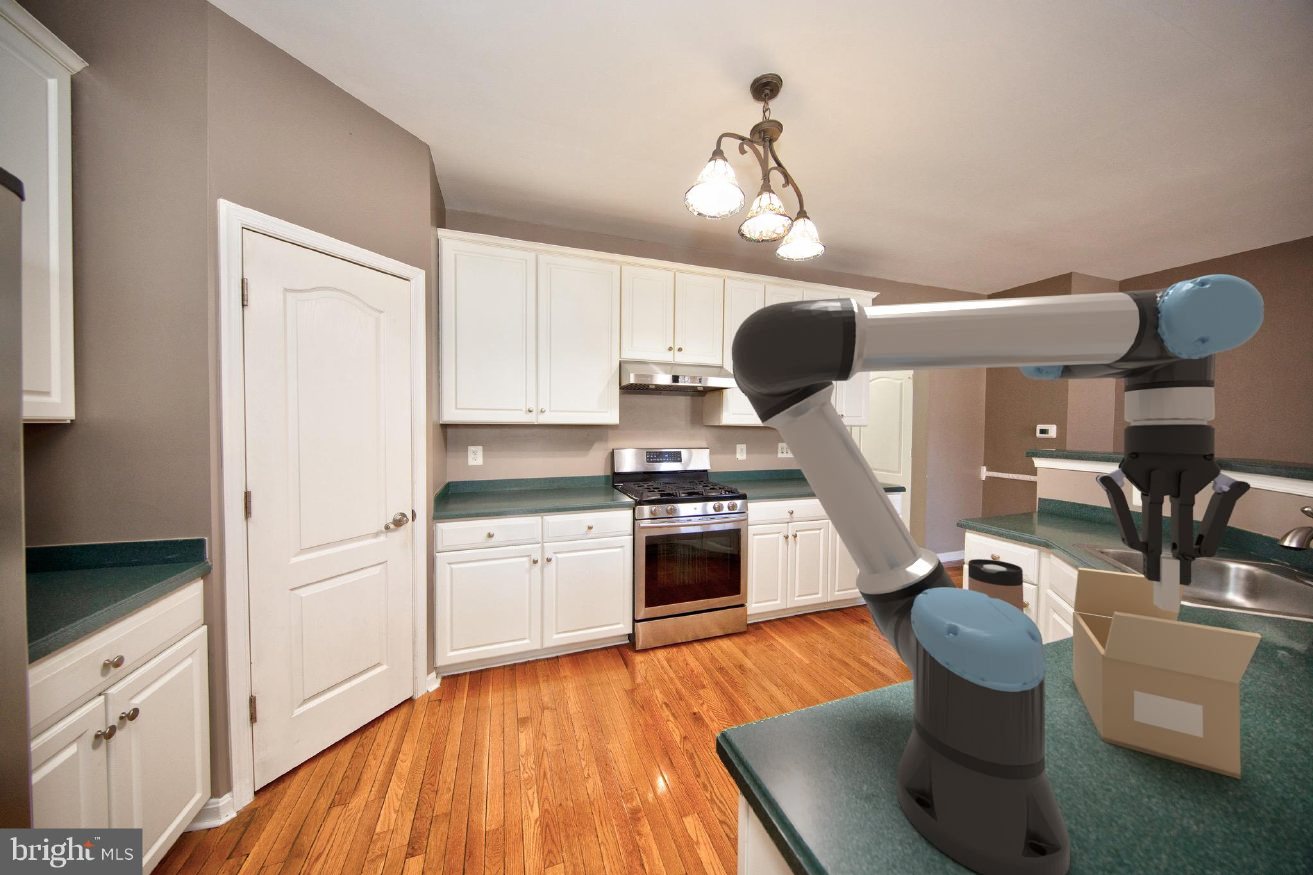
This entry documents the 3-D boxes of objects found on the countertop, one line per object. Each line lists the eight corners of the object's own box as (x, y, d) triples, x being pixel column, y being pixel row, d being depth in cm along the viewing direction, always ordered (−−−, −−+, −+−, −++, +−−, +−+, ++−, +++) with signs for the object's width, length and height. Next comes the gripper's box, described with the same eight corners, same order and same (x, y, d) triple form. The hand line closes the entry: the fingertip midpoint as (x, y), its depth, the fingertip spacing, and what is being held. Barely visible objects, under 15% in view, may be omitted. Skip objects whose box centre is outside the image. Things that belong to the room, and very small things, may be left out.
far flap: (1074, 611, 75) (1073, 609, 75) (1175, 627, 68) (1174, 625, 69) (1079, 569, 72) (1078, 567, 72) (1185, 582, 65) (1183, 579, 65)
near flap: (1236, 679, 53) (1238, 683, 53) (1103, 653, 60) (1104, 657, 60) (1259, 633, 49) (1261, 637, 49) (1114, 611, 56) (1115, 614, 56)
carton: (1241, 779, 53) (1239, 681, 53) (1103, 741, 60) (1102, 654, 60) (1178, 705, 68) (1177, 628, 68) (1073, 681, 75) (1072, 611, 75)
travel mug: (1004, 669, 79) (1003, 559, 79) (1036, 694, 71) (1035, 572, 71) (959, 667, 79) (958, 558, 80) (986, 691, 72) (985, 570, 72)
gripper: (1231, 424, 55) (1230, 610, 55) (1089, 425, 62) (1088, 589, 62) (1266, 422, 49) (1265, 631, 49) (1103, 423, 56) (1102, 605, 56)
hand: (1166, 607), depth 56 cm, fingers closed
